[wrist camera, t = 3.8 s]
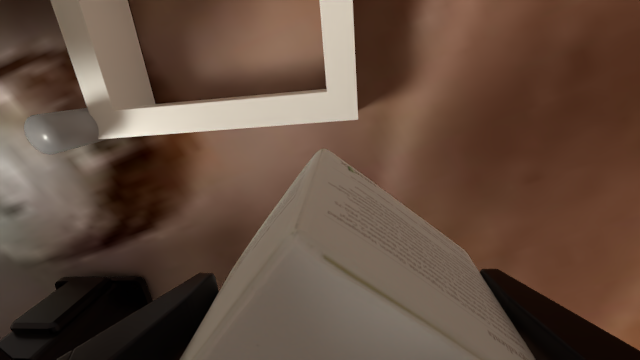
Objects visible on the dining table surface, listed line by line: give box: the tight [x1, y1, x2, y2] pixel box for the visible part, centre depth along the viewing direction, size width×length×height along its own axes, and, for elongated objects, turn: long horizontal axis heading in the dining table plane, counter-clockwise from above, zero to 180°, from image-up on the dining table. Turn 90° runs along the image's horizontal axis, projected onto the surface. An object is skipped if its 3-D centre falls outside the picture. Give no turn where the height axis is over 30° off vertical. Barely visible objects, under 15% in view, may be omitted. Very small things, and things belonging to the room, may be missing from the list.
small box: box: [180, 149, 536, 360], centre depth 7 cm, size 6×6×5 cm
